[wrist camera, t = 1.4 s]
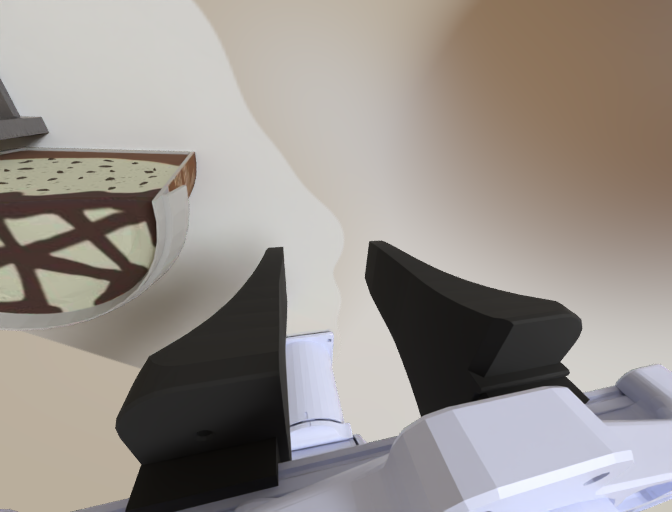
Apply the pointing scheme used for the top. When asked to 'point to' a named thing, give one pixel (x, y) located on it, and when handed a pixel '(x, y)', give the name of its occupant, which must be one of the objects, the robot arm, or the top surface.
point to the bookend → (16, 119)
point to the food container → (86, 230)
